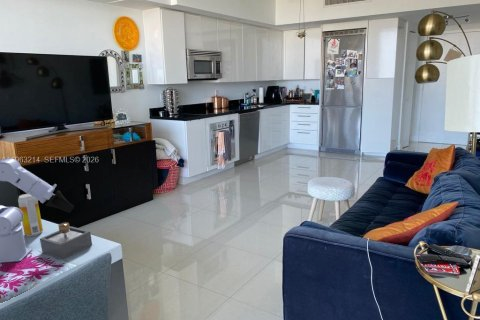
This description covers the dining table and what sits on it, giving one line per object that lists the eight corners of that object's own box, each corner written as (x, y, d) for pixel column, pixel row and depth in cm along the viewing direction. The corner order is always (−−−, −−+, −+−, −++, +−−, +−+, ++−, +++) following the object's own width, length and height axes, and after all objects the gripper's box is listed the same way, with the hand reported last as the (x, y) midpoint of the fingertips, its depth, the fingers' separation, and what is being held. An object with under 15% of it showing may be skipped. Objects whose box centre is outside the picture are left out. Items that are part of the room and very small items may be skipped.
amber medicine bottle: (39, 228, 141) (32, 191, 138) (46, 232, 138) (39, 194, 134) (22, 234, 137) (14, 196, 133) (28, 238, 133) (21, 199, 130)
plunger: (47, 240, 121) (44, 227, 120) (68, 231, 128) (66, 218, 127) (63, 245, 118) (60, 231, 116) (84, 235, 124) (81, 222, 123)
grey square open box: (42, 252, 122) (39, 238, 121) (71, 238, 131) (69, 226, 130) (63, 259, 117) (61, 244, 115) (92, 244, 126) (90, 231, 125)
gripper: (40, 174, 111) (80, 199, 114) (44, 177, 124) (80, 199, 127) (24, 193, 108) (65, 218, 112) (30, 194, 122) (66, 216, 125)
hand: (72, 209), depth 120 cm, fingers open, 7 cm apart
